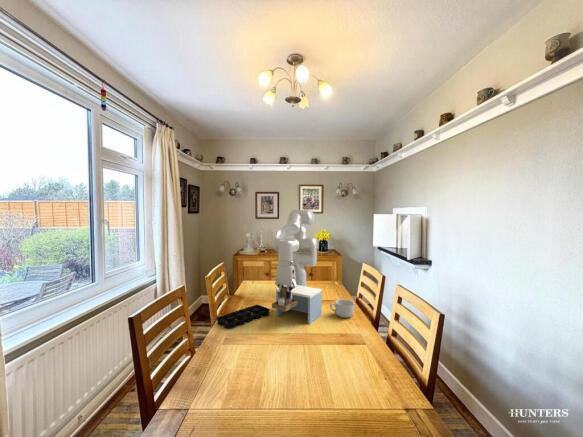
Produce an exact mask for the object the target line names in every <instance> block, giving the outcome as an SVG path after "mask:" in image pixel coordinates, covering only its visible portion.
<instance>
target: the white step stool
mask: <svg viewBox="0 0 583 437" xmlns="http://www.w3.org/2000/svg"><path fill="white" fill-rule="evenodd" d="M292 286H293V284H292ZM296 286H297V287H295V288H293V289H292V291H291V294H292V299H295V300H298V305H296V306H295V307H293V308H291V309H290V310H291V311H297V312H301V313H305V314H307V324H308V325H311V324H312V323H313V322H315V321H316V320H318V319H319V318H320V317H322V314H323V312H322V301H323V300H322V296H323V294H322V293H323V292H322V291H323V289H322V288H316V287H310V286H307V285H306V286H300V285H296ZM275 298H276V299H275V302H276V301H278V298H280V290H279V288H278V287H277V288H276V290H275ZM283 313H286V311H283V310H279V309H275V316H277V317H279V316H281V315H282V314H283Z"/></svg>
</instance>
